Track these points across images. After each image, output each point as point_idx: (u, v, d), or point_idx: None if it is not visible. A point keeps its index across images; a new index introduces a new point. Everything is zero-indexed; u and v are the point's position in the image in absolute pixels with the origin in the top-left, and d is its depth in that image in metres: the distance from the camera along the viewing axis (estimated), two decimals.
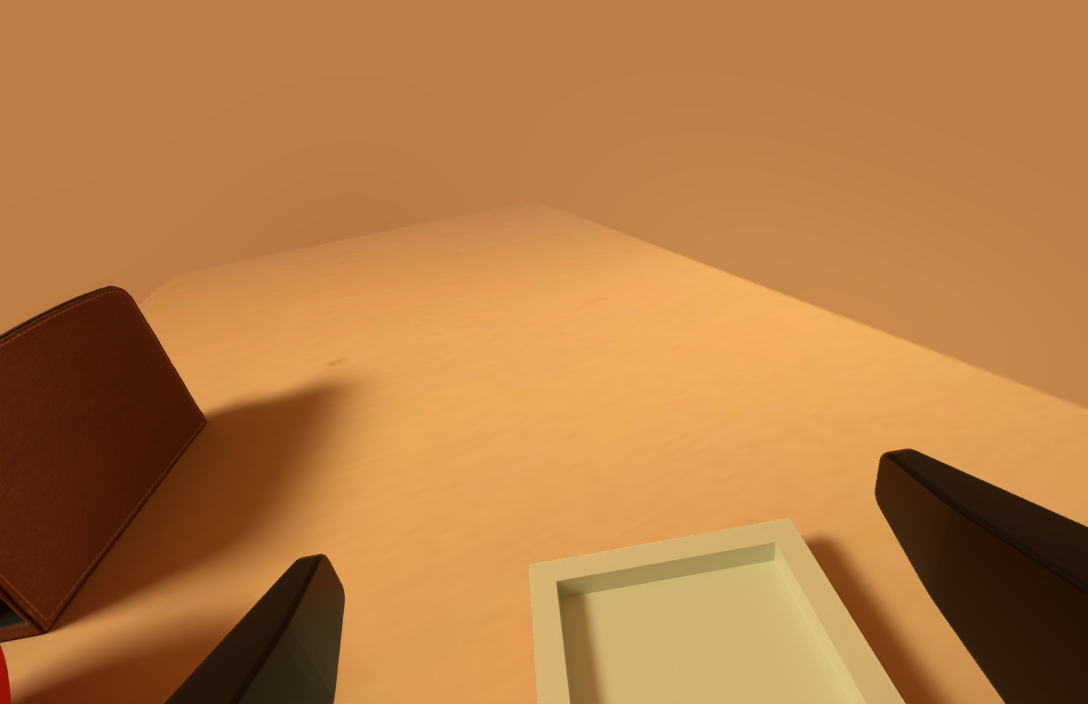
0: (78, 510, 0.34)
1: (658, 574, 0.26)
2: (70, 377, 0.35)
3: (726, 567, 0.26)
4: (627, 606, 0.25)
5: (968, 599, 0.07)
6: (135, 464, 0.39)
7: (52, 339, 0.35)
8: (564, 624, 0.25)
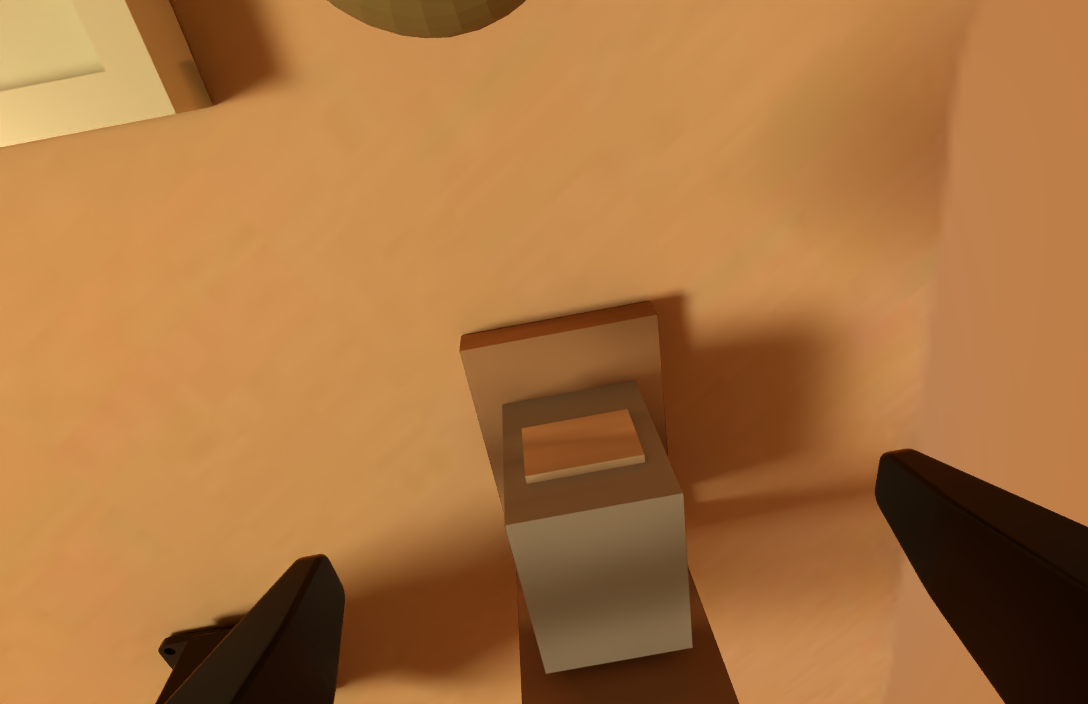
0: None
1: None
2: None
3: None
4: None
5: (968, 599, 0.07)
6: None
7: None
8: None
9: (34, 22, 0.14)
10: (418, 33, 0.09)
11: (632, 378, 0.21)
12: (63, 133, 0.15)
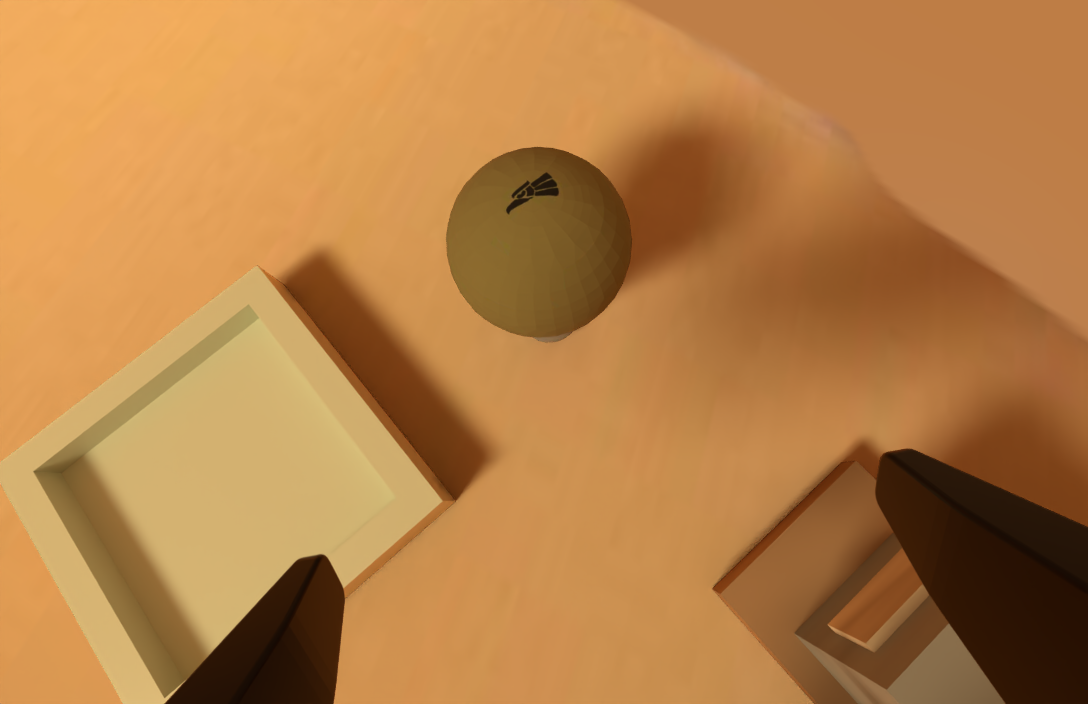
0: None
1: (150, 395, 0.23)
2: None
3: (219, 347, 0.23)
4: (135, 443, 0.23)
5: (968, 599, 0.07)
6: None
7: None
8: (78, 498, 0.22)
9: (346, 501, 0.22)
10: (583, 313, 0.16)
11: (887, 532, 0.20)
12: (376, 557, 0.20)
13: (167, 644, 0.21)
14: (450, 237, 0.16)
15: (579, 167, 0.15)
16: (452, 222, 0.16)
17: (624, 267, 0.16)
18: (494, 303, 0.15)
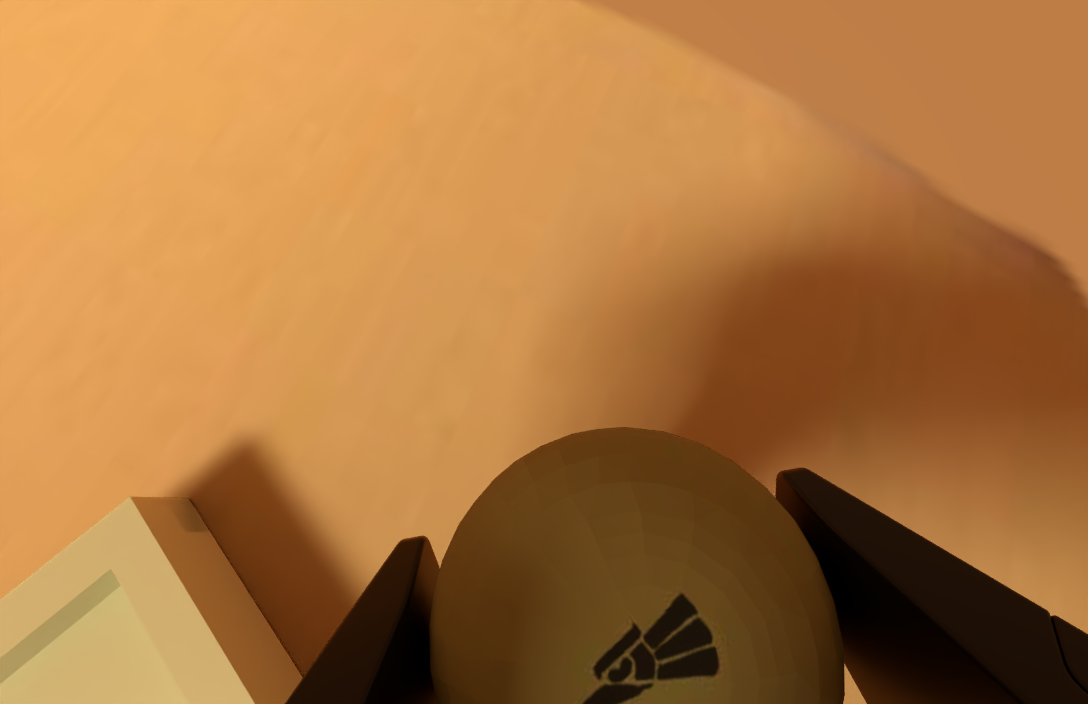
0: None
1: None
2: None
3: (71, 624, 0.14)
4: None
5: (845, 621, 0.07)
6: None
7: None
8: None
9: None
10: None
11: None
12: None
13: None
14: (436, 667, 0.07)
15: (751, 546, 0.06)
16: (441, 639, 0.07)
17: None
18: None
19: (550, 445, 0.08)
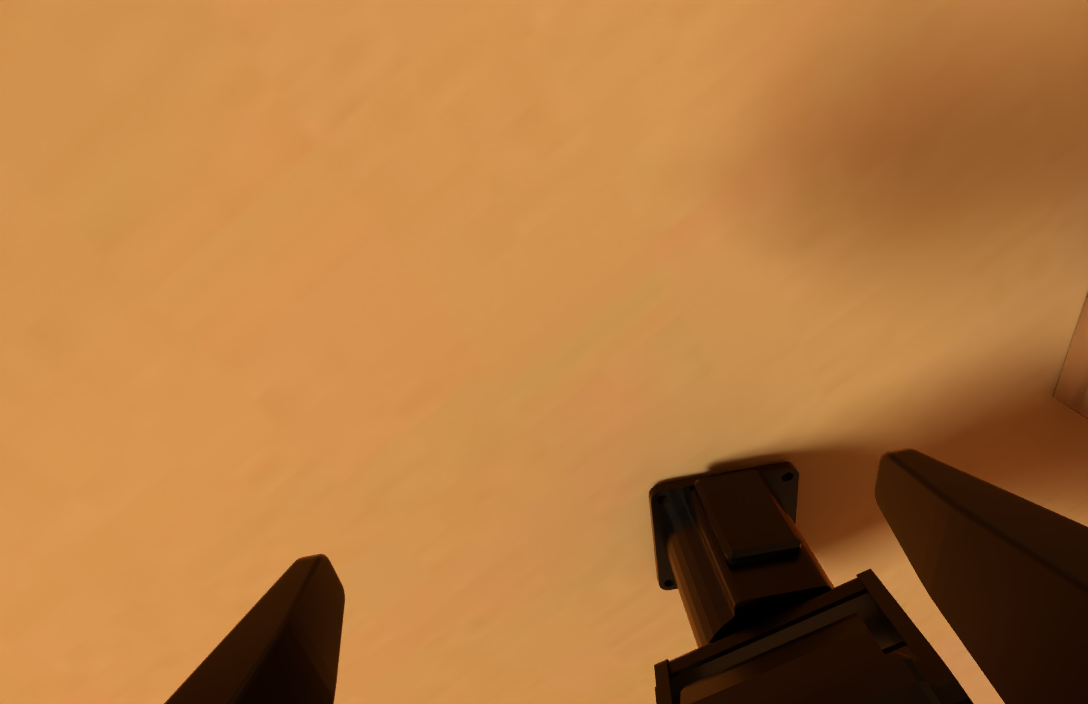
0: None
1: None
2: None
3: None
4: None
5: (968, 599, 0.07)
6: None
7: None
8: None
9: None
10: None
11: None
12: None
13: None
14: None
15: None
16: None
17: None
18: None
19: None
